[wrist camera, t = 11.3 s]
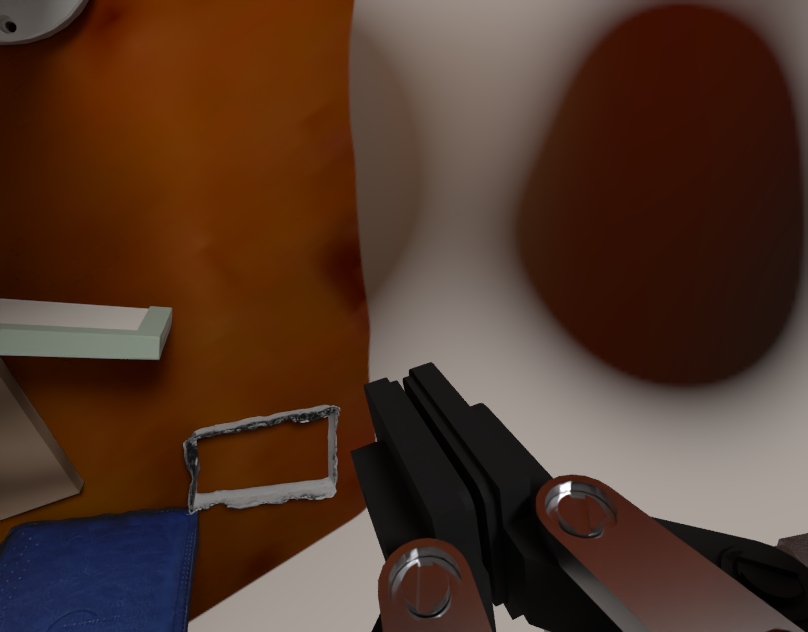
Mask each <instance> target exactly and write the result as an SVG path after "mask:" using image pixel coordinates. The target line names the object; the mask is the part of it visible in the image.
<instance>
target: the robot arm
mask: <svg viewBox="0 0 808 632" xmlns="http://www.w3.org/2000/svg"><path fill="white" fill-rule="evenodd" d="M88 1H89V0H0V45H14V44H27V43H31V42H34V41H38V40H41V39H45V38H48V37H50V36H52V35H54V34H56V33H57V32H59V31H61V30H63V29H64V28H66V27H67V26H68V25H69V24H70V23H72V22H73V21H74V20H75V19H76V18H77V17H78V16H79V15H80V14H81V13H82V11H83V9H84V8H85V6H86V4H87V3H88ZM11 23H15V25H16V27H17V29H16V31H15V32H11V31H10V29H9V25H10V24H11ZM403 385H404V390H405V391H404V390H403V388H402V387H401V385H400V384H399V382H398V381H393V382H389V380H388V379H387V378H383V379H380V380H377V381H374V382H371V383H368V384H365V385H364V390H365V394H366V398H367V402H368V406H369V410H370V414H371V418H372V422H373V426H374V430H375V434H376V438H377V442H374V443H372V444H369V445H366V446H364V447H361V448H358V449H356V450H353V451H351V456H352V459H353V463H354V466H355V470H356V473H357V477H358V480H359V483H360V487H361V490H362V493H363V496H364V499H365V502H366V506H367V509H368V512H369V514H370V517H371V520H372V523H373V526H374V529H375V532H376V535H377V538H378V541H379V544H380V547H381V549H382V553H383V555H384V558H385V561H386V562H385V564H384V565H383V567H382V570H381V573H380V576H379V580H378V599H379V606H380V615H379V618H378V619H377V621H376V624H375V626H374V628H373V630H372V632H496V627H495V619H494V611H493V604H494V605H495V606H498V605H500V604H502V603H504V605H505V607H506V609H507V611H508V612H509V614H510V616H511V618H512V620H514V619H515V618H517V617H519V616H521V615H524V616H525V618H526V620H527V621H528V623H529V624H531V625H533V626H536V627H539V628H542V629H544V631H545V632H808V533H806V534H802V535H796V536H792V537H787V538H782V539H779V541H778V544H777V546H774V547H773V546H770V545H767V544H764V543H761V542H758V541H755V540H750V539H746V538H741V537H737V536H733V535H728V534H724V533H720V532H715V531H711V530H706V529H702V528H697V527H693V526H689V525H684V524H680V523H676V522H671V521H667V520H662V519H658V518H654V517H650V516H648V515H647V514H646V513H644V512H643V511H642V510H640V509H639V508H638V507H636V506H635V505H634V504H632V503H631V502H630V501H628V500H627V499H625V498H624V497H623V496H622V495H620V494H619V493H618V492H616V491H615V490H613V489H612V488H611V487H609V486H607V485H606V484H604V483H602V482H601V481H599V480H596V479H593V478H590V477H587V476H580V475H565V476H558V477H556V478H554V479H553V478H552V477H551V476H550V474H549V473H548V472H547V471H546V470H545V469H544V468H543V467H542V466H541V465H540V464H539V463H538V461H537V460H536V459H535V458H534V457H533V456H532V455H531V454H530V453H529V452H528V451H527V450H526V448H525V447H524V446H523V445H522V444H521V443H520V442H519V441H518V440H517V439H516V438H515V437H514V435H513V434H512V433H511V432H510V431H509V430H508V429H507V428H506V427H505V426H504V425H503V423H502V422H501V421H500V420H499V419H498V418H497V417H496V416H495V415H494V414H493V413H492V411H490V409H489V408H488V407H487V406H486V405H484V404H482V403H479V404H476V405H473V406H469V405H468V404H467V402H466V401H464V399H463V398H462V397H461V395H460V394H459V393H458V392H457V391H456V390H455V388H454V387H453V386H452V385H451V384H450V383H449V381H448V380H447V379H446V378H445V377H444V376H443V375H442V373H441V372H440V371H439V370H438V369H437V368H436V367H435V365H434V364H433V363H431V362H430V363H427V364H424V365H421V366H418V367H415V368H412V369H410V370H409V376H408V377H405V378H403Z"/></svg>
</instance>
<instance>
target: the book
mask: <svg viewBox="0 0 808 632" xmlns="http://www.w3.org/2000/svg"><path fill="white" fill-rule="evenodd" d="M197 511H198V510H197ZM198 544H199V523H198V512H194V513H193V514H191V515H190V513H189V507H184V508H180V507H166V508H162V509H159V510H155V509H141V510H138V511H129V512H125V513H122V514H111V513H108V514H103V515H98V516H94V517H85V518H70V519H65V520H58V521H35V522H28V523H23V524H20V525H18V526H15V527H12V528H11V529H10V531H9V533H8V535H7V536H6V538H5V539H4V541H3V542H2V543H1V544H0V632H187V631H188V621H189V612H190V602H191V593H192V582H193V575H194V568H195V562H196V555H197V550H198Z"/></svg>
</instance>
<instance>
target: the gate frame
mask: <svg viewBox="0 0 808 632" xmlns="http://www.w3.org/2000/svg"><path fill="white" fill-rule="evenodd" d="M83 484H84V482H83V480H82V479H81V477H80V476H79V474H78V473H77V471H76V470H75V468H74V467H73V465H72V464H71V462H70V461H69V459H68V458H67V456H66V455H65V453H64V452H63V450H62V449H61V447H60V446H59V444H58V443H57V441H56V440H55V438H54V437H53V435H52V434H51V432H50V431H49V429H48V428H47V426H46V425H45V423H44V422H43V420H42V419H41V417H40V416H39V414H38V413H37V411H36V410H35V408H34V407H33V405H32V404H31V402H30V401H29V399H28V398H27V396H26V395H25V393H24V392H23V390H22V389H21V387H20V386H19V384H18V383H17V381H16V380H15V378H14V377H13V375H12V374H11V372H10V371H9V369H8V368H7V366H6V364H5V363H4V361H3V360H2V358H1V357H0V520H2V519H5V518H8V517H11V516H14V515H17V514H20V513H23V512H26V511H28V510H31V509H34V508H37V507H40V506H43V505H46V504H49V503H52V502H55V501H57V500H60V499H63V498H66V497H69V496H72V495H75V494H78V493H80V490H81V488H82V486H83Z"/></svg>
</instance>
